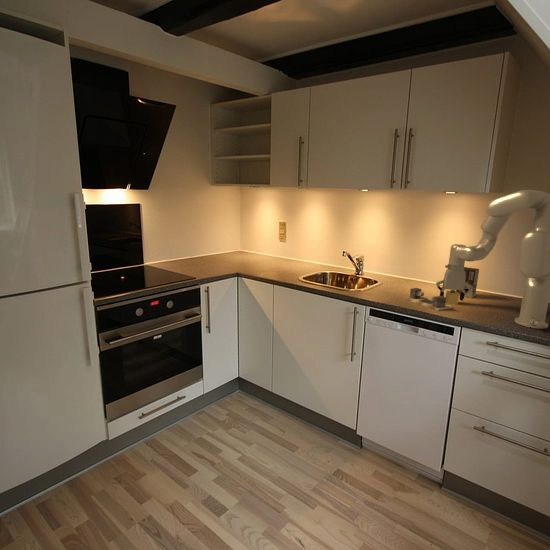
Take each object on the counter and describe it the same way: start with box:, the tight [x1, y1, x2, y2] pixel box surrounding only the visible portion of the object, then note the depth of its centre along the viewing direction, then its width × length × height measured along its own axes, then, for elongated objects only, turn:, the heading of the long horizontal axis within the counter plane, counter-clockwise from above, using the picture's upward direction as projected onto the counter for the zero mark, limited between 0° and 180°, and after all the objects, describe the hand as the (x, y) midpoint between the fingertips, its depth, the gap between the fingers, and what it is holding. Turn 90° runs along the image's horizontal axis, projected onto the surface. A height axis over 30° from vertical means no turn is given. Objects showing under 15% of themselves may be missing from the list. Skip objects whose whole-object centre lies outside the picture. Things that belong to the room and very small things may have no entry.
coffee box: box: [455, 266, 480, 299], centre depth 210 cm, size 9×6×16 cm
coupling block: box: [445, 289, 460, 305], centre depth 196 cm, size 5×5×7 cm
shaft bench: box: [404, 287, 453, 312], centre depth 193 cm, size 21×11×6 cm, turn 28°
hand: (451, 299), depth 196 cm, fingers open, 9 cm apart
